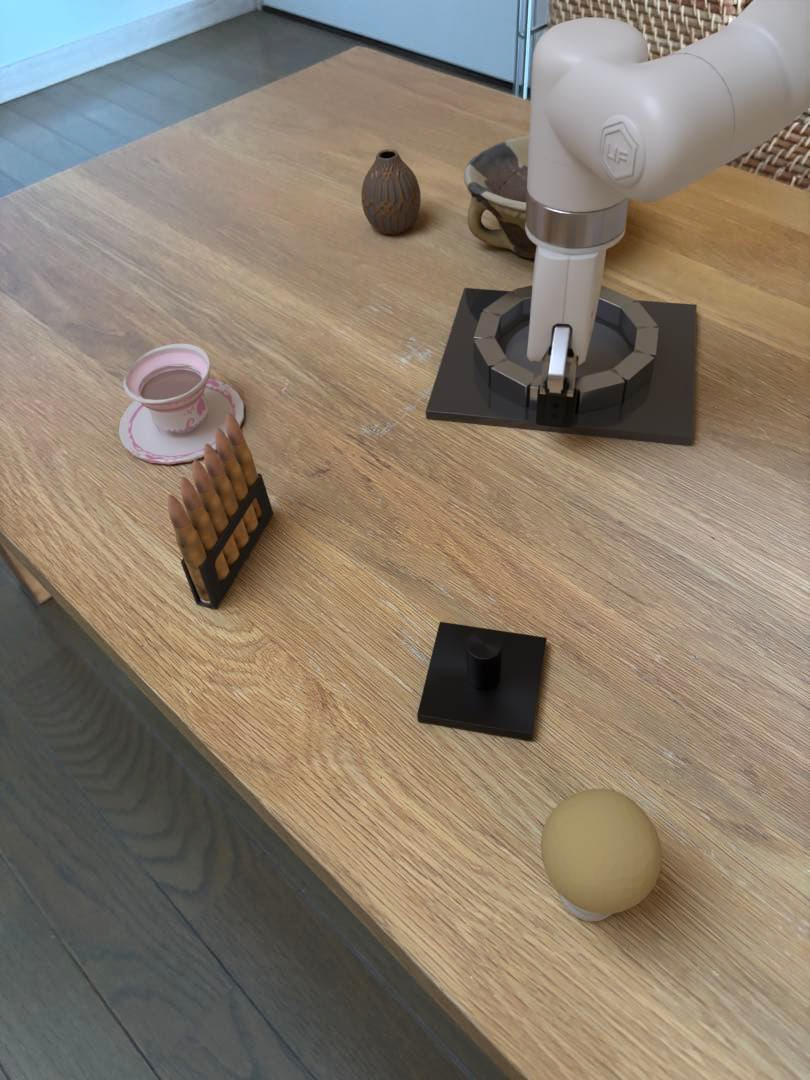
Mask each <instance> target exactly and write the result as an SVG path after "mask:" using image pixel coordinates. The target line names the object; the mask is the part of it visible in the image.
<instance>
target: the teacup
mask: <svg viewBox="0 0 810 1080" xmlns="http://www.w3.org/2000/svg"><path fill="white" fill-rule="evenodd" d="M210 376H211V361H210V357H209V355H208V353H206V352H205V350H203V349H202V348H201V347H199V346H198V345H194V344H192V343H191V344H190V343H170V344H166V345H162V346H159V347H155V348H153V349H152V350H151V349H150V350H149V351H147V352H146V353H144V354H142V355H141V356H140V357H138V358H137V359H136V360H135V361H134V362H133V363H132V364H130V366H129V367H128V368H127V370H126V372H125V374H124V376H123V379H122V389H123V391H124V393H125V394H126V395H127V396H128V398H130V399H132V400H133V401H132V402H131V403H130V405H128V406H127V408H126V409H125V411H124V413H123V415H122V416H121V418H120V421H119V427H118V435H119V437H120V440H121V444H122V445H123V448H125V449H126V450H127V451H128V452H129V453H130V454H131V455H132V456H133V457H135V458H137V459H140V460H142V461H145V462H147V463H151V464H160V465H161V464H162V465H174V464H175V465H177V464H183V463H191V462H193V461H194V460H198V459H201V458H204V447H205V444H209V445H210V446H211V447H212V448H213V449H214V450H215V452H217V450H216V444H215V433H216V429H217V428H220V429H221V430H222V431H223V432H224V433H225V435H226V436H227V431H226V416H227V413H231V414H232V415H233V416H234V417H235V419H236V420H237V422H238V424H239V426H240V427H241V426H242V423H243V421H244V419H245V404H244V401H243V400H242V398H241V396H240V394H239V392H238V391H236V390H235V389H234V388H232V387H231V386H230V385H228V384H227V383H225V382H222V381H219V380H216V379H214V378H210ZM227 438H228V436H227Z"/></svg>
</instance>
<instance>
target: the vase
mask: <svg viewBox="0 0 810 1080" xmlns="http://www.w3.org/2000/svg"><path fill="white" fill-rule="evenodd" d="M360 196H361V197H360V199H361V205H362V206H361V207H362V211H363V213H364V215H365V218H366V220H367V221H368V224H370V226H371V227H372V228H374V229H375V230H376V231H378V232H379V233H381V234H385V235H389V236H391V235H399V234H402V233H405V232H406V231H408V230H409V229H410V228H411V227H412V226H413V225H414V224H415V222H416V220H417V219H418V217H419V214H420V210H421V205H422V204H421V202H422V201H421V200H422V197H421V189H420V184H419V181H418V178H417V177H416V174H415V173H414V172H413V170H412V169H411V168H410V166H409V165H407V163H406V162H404V160H403V159H402V157H401V156H400V154H399V153H398V151H397V150H395V149H391V148H390V149H389V148H388V149H383V150H380V151H379V152H377V154H376V157H375V159H374V162H373V164H372V165H371V167H369V169H368V171H367V172H366V174H365V177H364V179H363V181H362V186H361V195H360Z"/></svg>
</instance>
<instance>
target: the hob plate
mask: <svg viewBox="0 0 810 1080" xmlns="http://www.w3.org/2000/svg"><path fill="white" fill-rule="evenodd" d="M509 291H510V290H499V289H486V288H473V287H464V288H463V291H462V294H461V297H460V300H459V304H458V306H457V309H456V314H455V316H454V319H453V323H452V326H451V329H450V331H449V335H448V338H447V341H446V345H445V348H444V351H443V354H442V356H441V357H442V358H441V361H440V364H439V366H438V367H439V368H438V370H437V374H436V376H435V379H434V383H433V386H432V390H431V393H430V395H429V399H428V402H427V406H426V408H425V418H426V419H427V420H436V421H444V422H445V421H447V422H457V423H464V424H466V423H467V424H474V425H475V424H476V425H485V426H494V427H495V426H496V427H504V428H514V429H522V430H523V429H524V430H533V431H544V432H553V433H562V434H573V435H582V436H591V437H601V438H602V437H603V438H611V439H612V438H613V439H620V440H621V439H623V440H631V441H641V442H650V443H660V444H669V445H670V444H671V445H678V446H688V447H691V446H692V445H693V442H694V438H695V437H694V434H695V431H694V430H695V428H694V427H695V391H696V390H695V389H696V388H695V387H696V352H697V351H696V345H697V307H698V306H697V304H695V303H680V302H668V301H667V302H666V301H653V300H637V299H635V302H639V303H640V304H641V306H642V307H643V308H644V309H645V310H646V312H647V313H648V314H649V315H650V317H651V318H652V319H653V320H654V321H655V323H656V324H657V325H658V327H657V328H659V330H658V340H657V350H656V358H655V363H654V368H653V373H652V377H651V378H650V380H649V381H648V382H647V383H646V384H644V385H643V386H642V387H641V388H640V389H639V390H637V391H636V392H635V393H634V394H633V395H632V396H631V397H629V398H628V399H627V400H626V401H625V402H623V401H621V404H617V405H613V406H609V407H605V408H601V409H597V410H593V411H589V412H585V413H581V414H578V412H577V411H575V414H574V423H573V427H571V428H561V427H552V426H542V425H538V424H537V423H536V410H531V409H529V405H528V406H527V407H526V408H524V407H522V406H520V405H519V404H517V403H515V402H513V401H511V400H509V399H507V398H506V397H504V396H502V395H500V394H498V393H496V392H494V391H493V390H491V387H488V386H487V384H486V382H485V380H484V379H483V377H482V375H481V373H480V371H479V370H478V368H477V366H476V364H475V362H474V334H475V331H476V328H477V325H478V322H479V319H480V316H481V313H482V312H483V310H484V309H485V308H487V307H488V306H490V305H491V304H492V303H494V302H495V301H497V300H498V299H499V298H501V297H502V296H504V295H505V294H506V293H508V292H509ZM511 291H512V292H513V290H511ZM529 325H530V319H528V320H524V321H522V322H520V323H519V324H518V325H516V326H515V327H514V328H512V329H511V330H510V331H508V332H507V333H506V334H504V335H503V336H501V337H500V341H499V346H500V347H501V349H502V351H503V352H504V354H505V356H506V357H507V359H508V360H510V361H512V362H514V363H516V364H518V365H520V366H522V367H524V368H526V369H528V370H530V371H532V372H534V373H536V374H540V375H542V366H543V358H542V360H541V361H540V362H538V361H533V362H532V361H530V360H529V359H528V357H527V349H528V338H529ZM632 352H633V349H632V347H631V346H630V345H629V343H628V342H627V341H626V339H625V338H624V337H623V335H622V334H621V333H620V332H619V330H618V329H616V328H614V327H612V326H609V325H607V324H605V323H603V322H601V321H598V320H596V319H595V322H594V326H593V330H592V335H591V339H590V343H589V347H588V351H587V355H586V360H585V361H584V362H583V363H582V364H580V365H578V363H577V369H576V377H575V378H579V377H583V376H587V375H591V374H595V373H599V372H603V371H607V370H611V369H613V368H614V367H615V366H617V365H618V364H619V363H620V362H621V361H622V360H624V359H625V358H626V357H627V356H628V355H630V354H631V353H632ZM549 355H550V354H549ZM569 371H570V364H566V367H565V377H569Z"/></svg>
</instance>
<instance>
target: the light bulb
mask: <svg viewBox="0 0 810 1080" xmlns="http://www.w3.org/2000/svg"><path fill="white" fill-rule="evenodd" d="M540 851H541V852H540V853H541V861H542V864H543V868H544V871H545V873H546V875H547V877H548V879H549V881H550V883H551V885H552V886H553V887H554V888H555V889H556V891H557V892H558V896H559V898H560V901H561V903H562V904H563V906H564V907H565V908H566V910H567V911H568V912H569V913H570V914H571V915H573V916H574V917H577V918H578V919H580V920H583V921H587V922H598V921H599V922H600V921H603V920H605V919H608V918H609V917H610V916H612V915H614V914H618V913H622V912H624V911H627V910H629V909H632V908H634V907H635V906H636V905H638V904H640V903H641V902H642V901H643V900H644V899H645V898H646V897H647V896H648V895H650V892H651V891H652V889H653V888H654V886H655V885H656V883H657V880H658V878H659V877H660V871H661V868H662V859H663V858H662V857H663V855H662V854H663V852H662V845H661V841H660V838H659V833H658V831H657V829H656V827H655V825H654V823H653V822H652V820H651V818H650V817H649V815H647V813H646V812H645V811H644V810H643V809H642V808H641V806H640V805H639V804H637V802H635V800H633V799H632V798H630V797H629V796H627V795H625V794H623V792H619V791H617V790H614V789H610V788H590V789H584V790H582V791H578V792H575V793H573V794H572V795H569V796H567V797H566V798H564V799H563V800H562V801H561V802H559V803H558V804H557V805H556V806H555V807H554V808H553V809H552V811H551V812H550V813H549V815H548V817H547V818H546V820H545V823H544V825H543V829H542V832H541V838H540Z"/></svg>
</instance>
